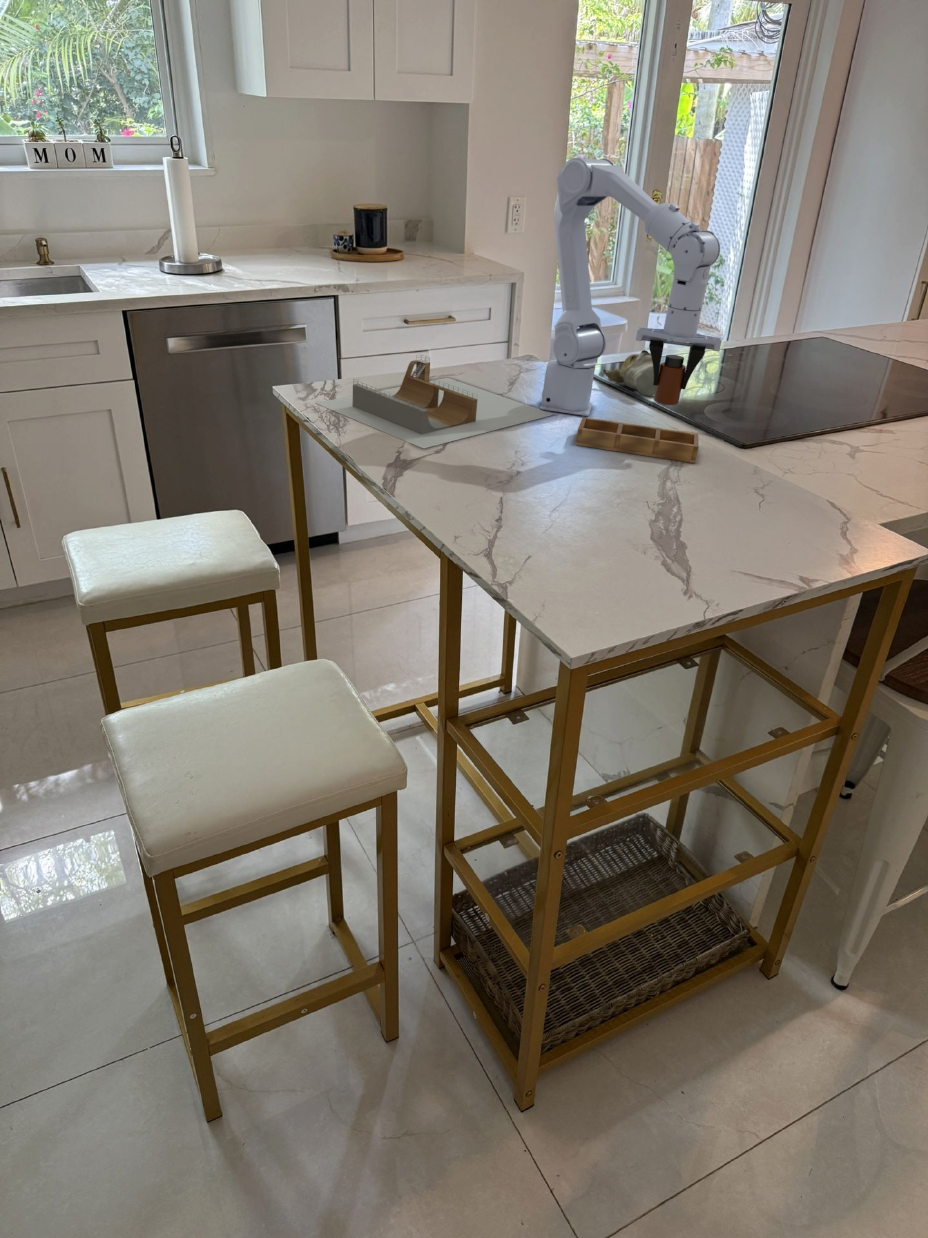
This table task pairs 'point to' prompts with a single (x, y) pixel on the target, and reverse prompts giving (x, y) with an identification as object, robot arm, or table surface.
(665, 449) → the spice tray
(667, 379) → the spice bottle
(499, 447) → the table surface
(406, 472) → the table surface
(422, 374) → the skate ramp
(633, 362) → the ceramic sculpture
